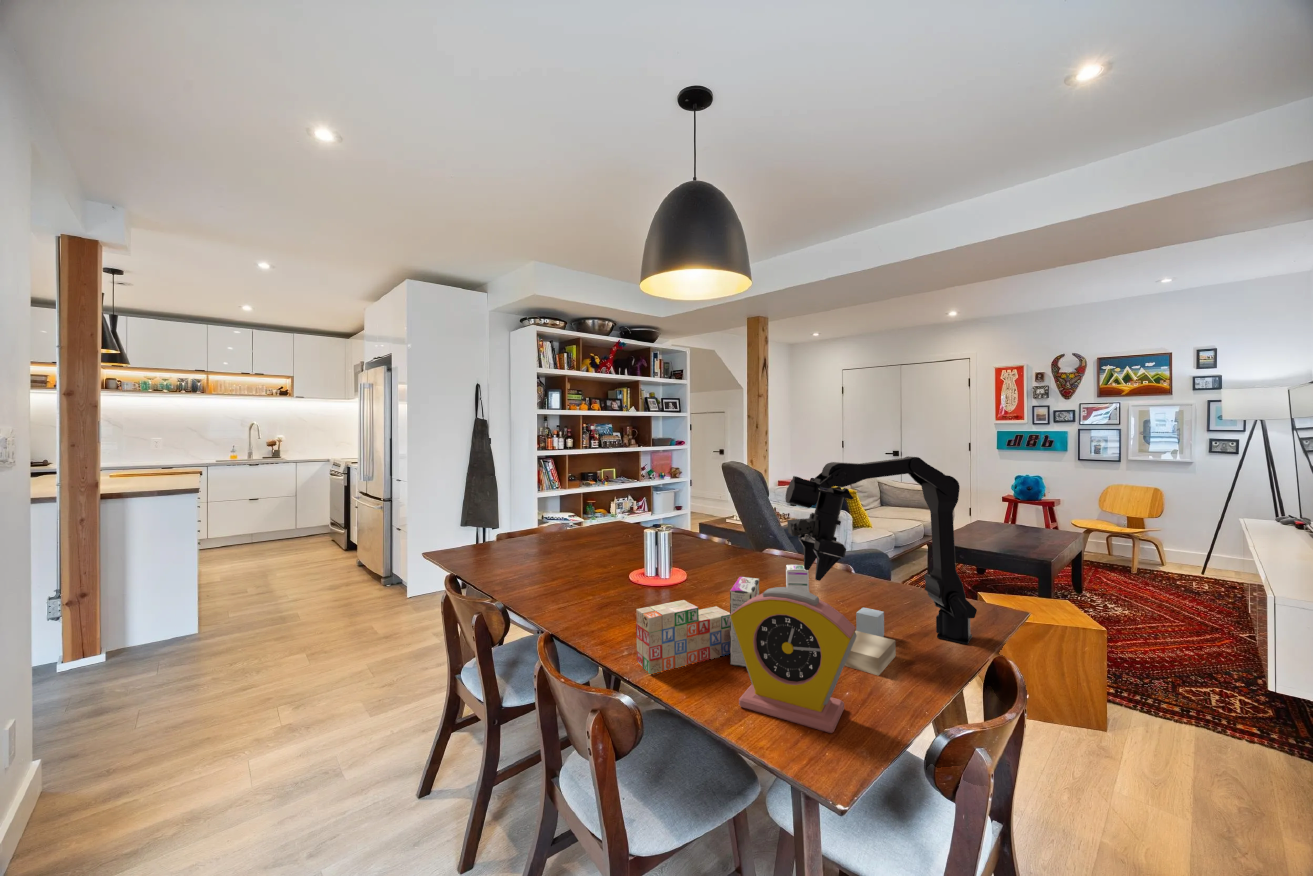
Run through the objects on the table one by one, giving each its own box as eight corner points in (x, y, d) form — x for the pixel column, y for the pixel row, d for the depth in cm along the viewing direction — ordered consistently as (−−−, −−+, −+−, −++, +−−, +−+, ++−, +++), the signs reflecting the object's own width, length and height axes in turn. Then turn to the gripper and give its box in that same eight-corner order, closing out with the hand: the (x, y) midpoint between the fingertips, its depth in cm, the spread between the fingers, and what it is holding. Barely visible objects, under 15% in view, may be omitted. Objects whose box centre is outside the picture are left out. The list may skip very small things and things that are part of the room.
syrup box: (810, 626, 131) (810, 570, 131) (786, 624, 132) (786, 569, 132) (808, 618, 136) (808, 564, 136) (785, 617, 137) (785, 563, 137)
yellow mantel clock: (724, 703, 93) (724, 587, 93) (743, 682, 101) (742, 575, 101) (850, 740, 82) (849, 607, 81) (860, 713, 89) (859, 592, 89)
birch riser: (895, 658, 113) (895, 640, 113) (878, 677, 103) (878, 658, 103) (841, 644, 120) (841, 627, 120) (821, 661, 111) (821, 643, 111)
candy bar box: (737, 645, 119) (738, 575, 119) (759, 648, 117) (760, 578, 117) (728, 665, 108) (729, 589, 108) (751, 669, 107) (752, 592, 107)
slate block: (884, 636, 124) (883, 611, 124) (877, 642, 120) (877, 617, 120) (863, 631, 127) (863, 607, 127) (856, 637, 124) (856, 612, 124)
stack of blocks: (717, 644, 120) (716, 593, 120) (733, 654, 114) (732, 600, 114) (636, 664, 110) (635, 608, 110) (649, 676, 104) (648, 617, 104)
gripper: (785, 500, 132) (771, 557, 132) (806, 510, 113) (789, 577, 114) (826, 510, 132) (812, 568, 132) (854, 522, 113) (837, 589, 113)
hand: (811, 574), depth 123 cm, fingers open, 9 cm apart
